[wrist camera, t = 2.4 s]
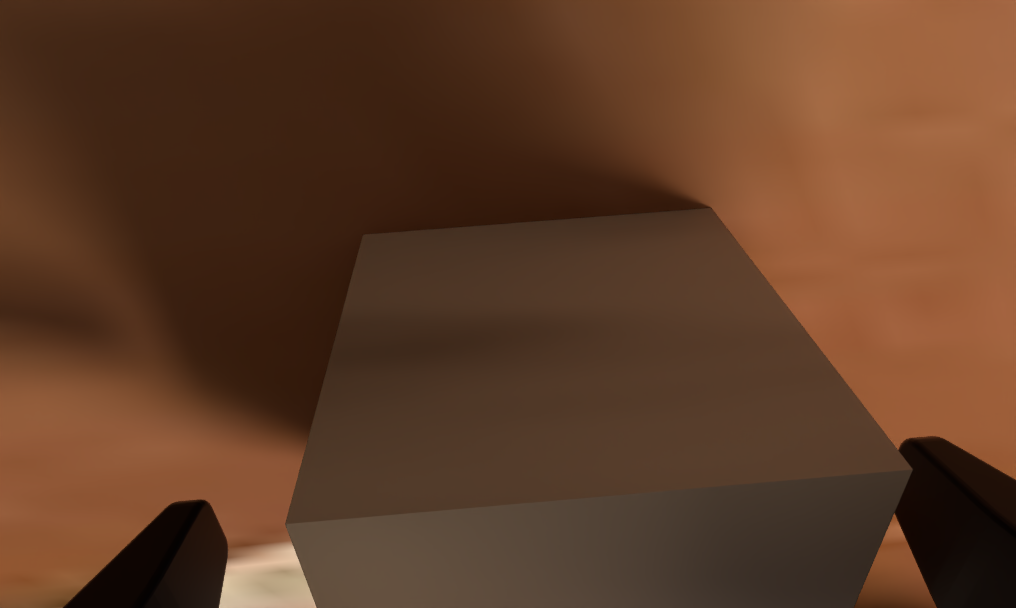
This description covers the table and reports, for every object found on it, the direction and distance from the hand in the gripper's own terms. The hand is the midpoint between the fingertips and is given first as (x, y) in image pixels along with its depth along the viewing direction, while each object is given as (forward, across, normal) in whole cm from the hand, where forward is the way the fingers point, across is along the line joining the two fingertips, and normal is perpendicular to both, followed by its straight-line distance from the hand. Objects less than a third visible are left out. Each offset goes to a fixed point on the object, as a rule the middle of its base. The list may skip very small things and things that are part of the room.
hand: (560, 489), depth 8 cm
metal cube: (+3, 0, 0) cm, 3 cm away
